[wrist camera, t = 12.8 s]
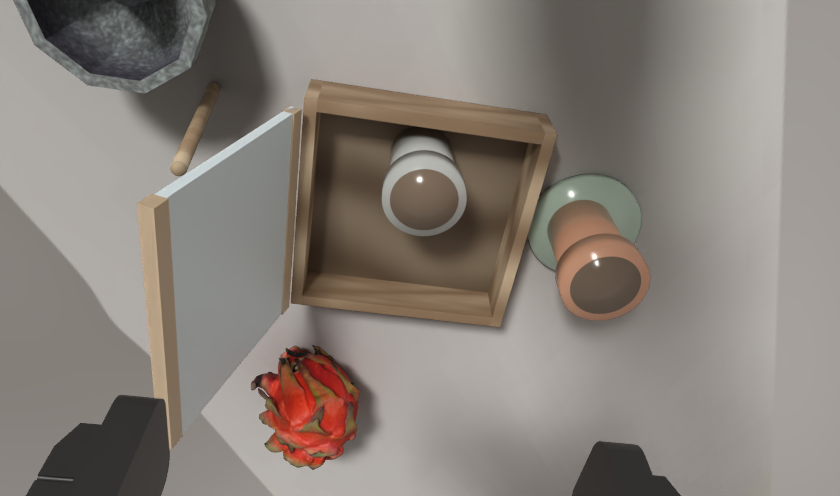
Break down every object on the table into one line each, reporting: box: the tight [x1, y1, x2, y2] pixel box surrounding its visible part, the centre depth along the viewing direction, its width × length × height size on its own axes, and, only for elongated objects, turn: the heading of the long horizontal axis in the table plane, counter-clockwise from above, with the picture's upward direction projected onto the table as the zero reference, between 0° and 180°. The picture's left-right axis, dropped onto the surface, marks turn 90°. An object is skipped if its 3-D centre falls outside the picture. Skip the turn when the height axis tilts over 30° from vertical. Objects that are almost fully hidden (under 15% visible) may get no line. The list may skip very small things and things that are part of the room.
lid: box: [137, 106, 302, 449], centre depth 36 cm, size 15×14×1 cm
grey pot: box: [382, 126, 467, 236], centre depth 41 cm, size 5×5×7 cm
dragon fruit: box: [251, 345, 359, 470], centre depth 53 cm, size 8×8×12 cm
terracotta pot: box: [547, 200, 650, 320], centre depth 44 cm, size 6×6×7 cm
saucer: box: [528, 174, 641, 270], centre depth 48 cm, size 8×8×1 cm
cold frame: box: [170, 79, 557, 327], centre depth 41 cm, size 16×23×12 cm
